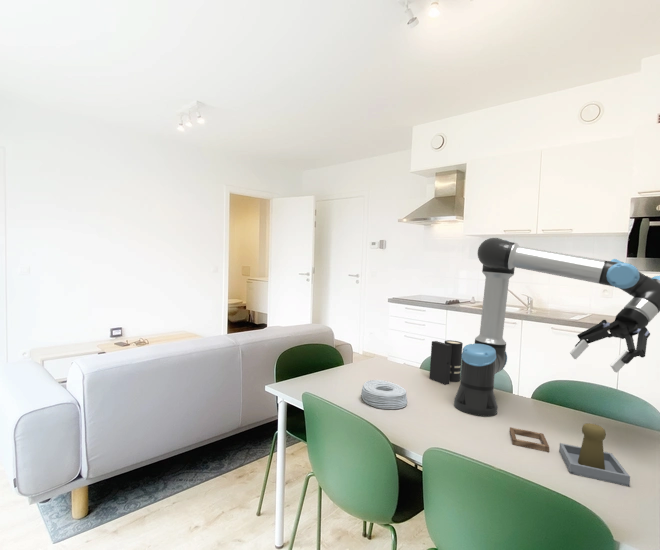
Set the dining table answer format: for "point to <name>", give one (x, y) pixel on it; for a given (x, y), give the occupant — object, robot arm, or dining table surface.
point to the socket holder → (532, 445)
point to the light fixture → (446, 361)
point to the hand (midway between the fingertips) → (591, 362)
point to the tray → (610, 474)
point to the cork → (592, 446)
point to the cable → (384, 394)
